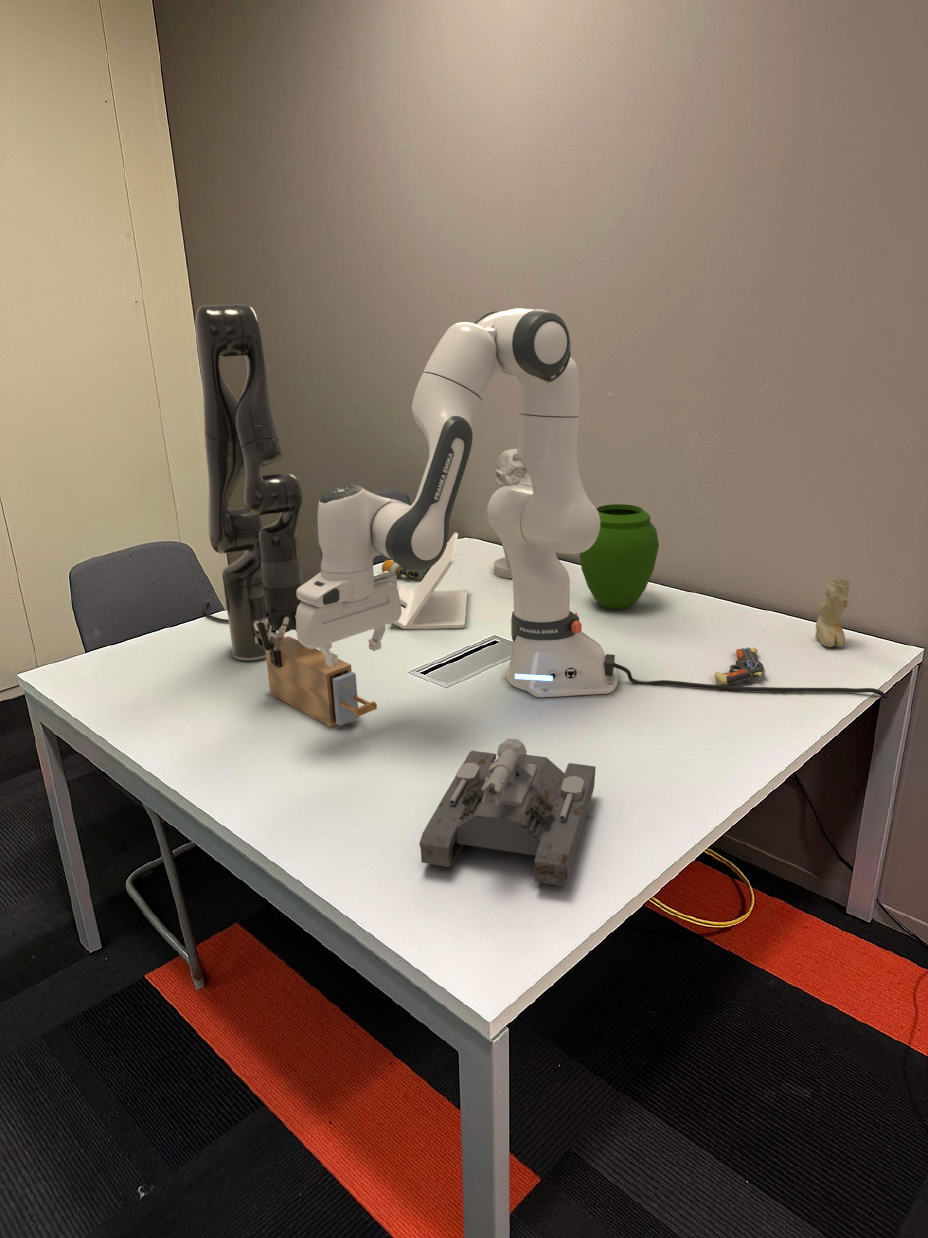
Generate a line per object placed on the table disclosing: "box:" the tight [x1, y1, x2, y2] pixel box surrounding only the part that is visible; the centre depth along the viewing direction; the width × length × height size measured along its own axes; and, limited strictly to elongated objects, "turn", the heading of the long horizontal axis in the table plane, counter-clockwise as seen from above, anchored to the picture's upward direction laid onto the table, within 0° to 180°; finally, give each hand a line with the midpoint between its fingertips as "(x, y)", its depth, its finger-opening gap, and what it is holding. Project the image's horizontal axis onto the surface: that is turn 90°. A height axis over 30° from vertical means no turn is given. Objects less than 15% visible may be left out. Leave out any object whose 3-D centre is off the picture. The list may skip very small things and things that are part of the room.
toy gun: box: [714, 647, 766, 686], centre depth 175 cm, size 3×19×10 cm
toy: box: [418, 738, 597, 887], centre depth 122 cm, size 25×20×15 cm
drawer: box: [330, 671, 378, 726], centre depth 160 cm, size 26×4×9 cm, turn 44°
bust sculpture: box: [485, 448, 532, 579], centre depth 231 cm, size 16×24×35 cm
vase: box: [578, 503, 660, 610], centre depth 210 cm, size 20×20×24 cm
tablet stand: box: [391, 531, 468, 630], centre depth 211 cm, size 18×25×17 cm
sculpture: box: [814, 576, 852, 648], centre depth 185 cm, size 6×7×15 cm
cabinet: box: [265, 635, 353, 728], centre depth 164 cm, size 21×6×11 cm, turn 44°
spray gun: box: [381, 559, 428, 579], centre depth 244 cm, size 4×17×15 cm
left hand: (291, 661), depth 167 cm, fingers closed on cabinet, 5 cm apart
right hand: (354, 656), depth 150 cm, fingers open, 8 cm apart
